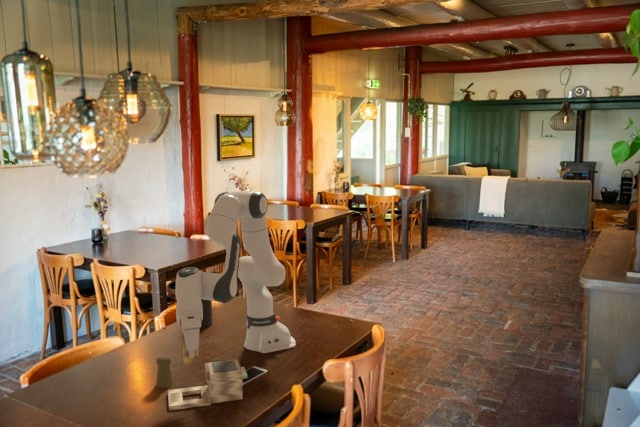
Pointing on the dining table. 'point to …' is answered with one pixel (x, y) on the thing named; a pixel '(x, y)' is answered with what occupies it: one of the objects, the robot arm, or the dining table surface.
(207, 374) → the cover
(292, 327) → the dining table surface
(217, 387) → the beige stepped box
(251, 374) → the smartphone
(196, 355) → the block
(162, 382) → the olive pepper mill
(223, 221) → the robot arm
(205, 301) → the bottle
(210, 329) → the dining table surface
